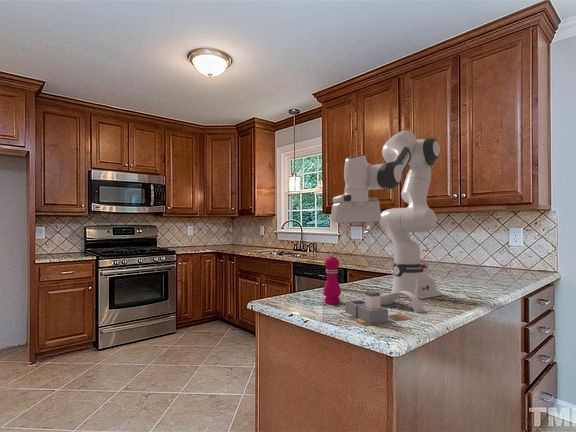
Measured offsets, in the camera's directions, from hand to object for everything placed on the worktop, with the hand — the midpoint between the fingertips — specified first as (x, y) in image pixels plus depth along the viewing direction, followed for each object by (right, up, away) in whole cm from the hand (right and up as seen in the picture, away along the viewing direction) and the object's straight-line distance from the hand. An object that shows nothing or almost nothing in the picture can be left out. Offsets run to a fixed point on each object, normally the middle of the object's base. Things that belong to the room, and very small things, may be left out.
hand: (357, 234), depth 134 cm
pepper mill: (-8, -29, +10) cm, 31 cm away
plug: (+1, -27, -20) cm, 33 cm away
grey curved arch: (+14, -29, +1) cm, 32 cm away
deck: (+10, -28, -16) cm, 34 cm away
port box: (0, -28, -16) cm, 32 cm away
